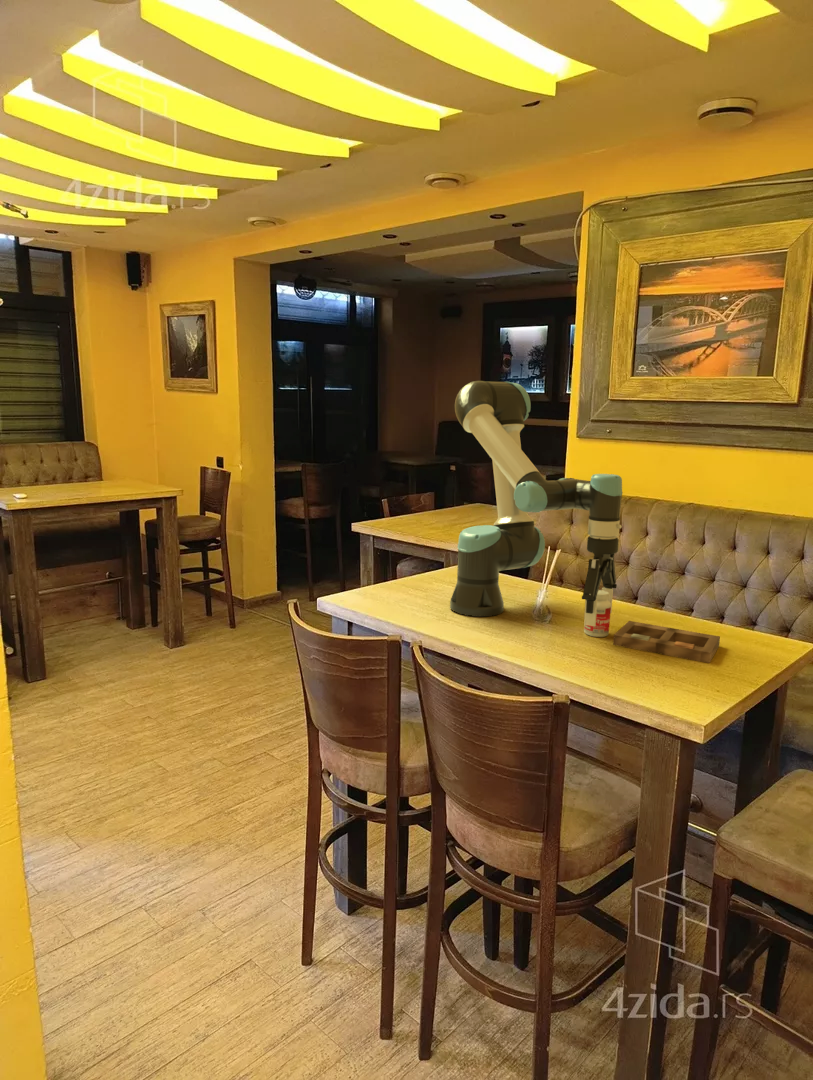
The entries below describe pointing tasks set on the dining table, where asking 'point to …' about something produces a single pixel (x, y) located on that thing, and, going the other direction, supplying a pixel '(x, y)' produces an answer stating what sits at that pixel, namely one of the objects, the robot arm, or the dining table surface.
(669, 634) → the socket board
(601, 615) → the pill bottle
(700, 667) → the dining table surface
